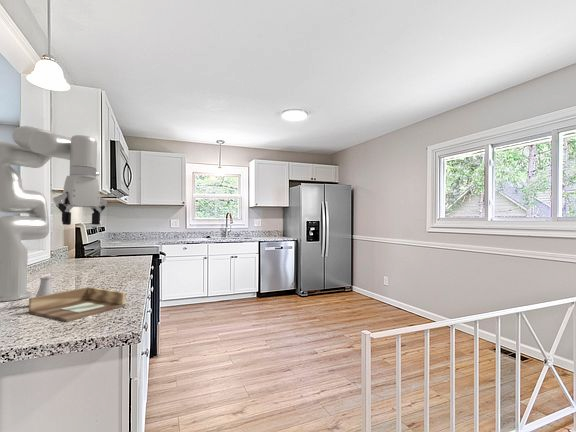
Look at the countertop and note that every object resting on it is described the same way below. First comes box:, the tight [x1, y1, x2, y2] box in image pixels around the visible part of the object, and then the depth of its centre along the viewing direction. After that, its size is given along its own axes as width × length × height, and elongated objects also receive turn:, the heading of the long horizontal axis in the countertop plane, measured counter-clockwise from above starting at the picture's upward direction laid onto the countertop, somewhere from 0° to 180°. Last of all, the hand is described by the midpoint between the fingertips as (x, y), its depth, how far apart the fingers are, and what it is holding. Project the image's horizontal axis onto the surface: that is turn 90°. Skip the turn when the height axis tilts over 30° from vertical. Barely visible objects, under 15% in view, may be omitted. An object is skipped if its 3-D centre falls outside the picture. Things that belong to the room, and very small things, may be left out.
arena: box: [28, 286, 127, 323], centre depth 108 cm, size 20×20×5 cm
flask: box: [35, 275, 55, 297], centre depth 113 cm, size 7×7×10 cm
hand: (81, 224), depth 105 cm, fingers open, 9 cm apart
